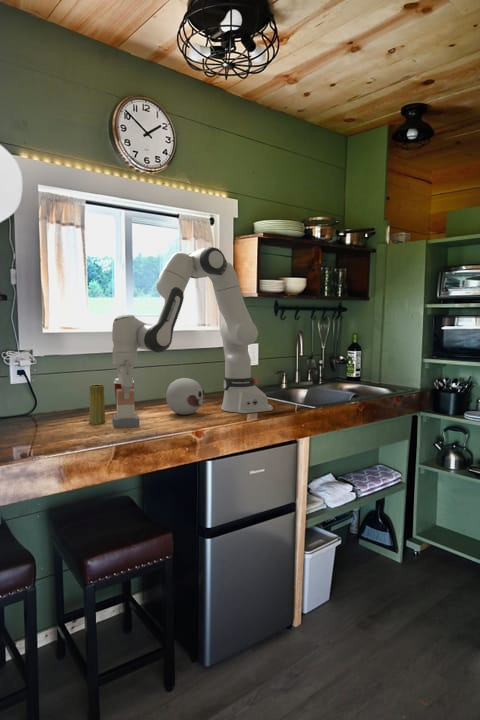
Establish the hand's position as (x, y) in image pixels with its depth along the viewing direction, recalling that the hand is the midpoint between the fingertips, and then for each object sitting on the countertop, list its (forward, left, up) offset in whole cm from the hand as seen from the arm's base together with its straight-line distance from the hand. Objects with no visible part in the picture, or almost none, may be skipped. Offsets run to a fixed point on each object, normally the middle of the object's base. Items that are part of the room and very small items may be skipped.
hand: (125, 396), depth 184 cm
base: (0, 0, -11) cm, 11 cm away
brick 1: (0, 0, -3) cm, 3 cm away
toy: (-25, -12, -11) cm, 30 cm away
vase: (+10, -6, -11) cm, 16 cm away
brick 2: (0, 0, -8) cm, 8 cm away
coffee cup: (-1, -16, -11) cm, 19 cm away
